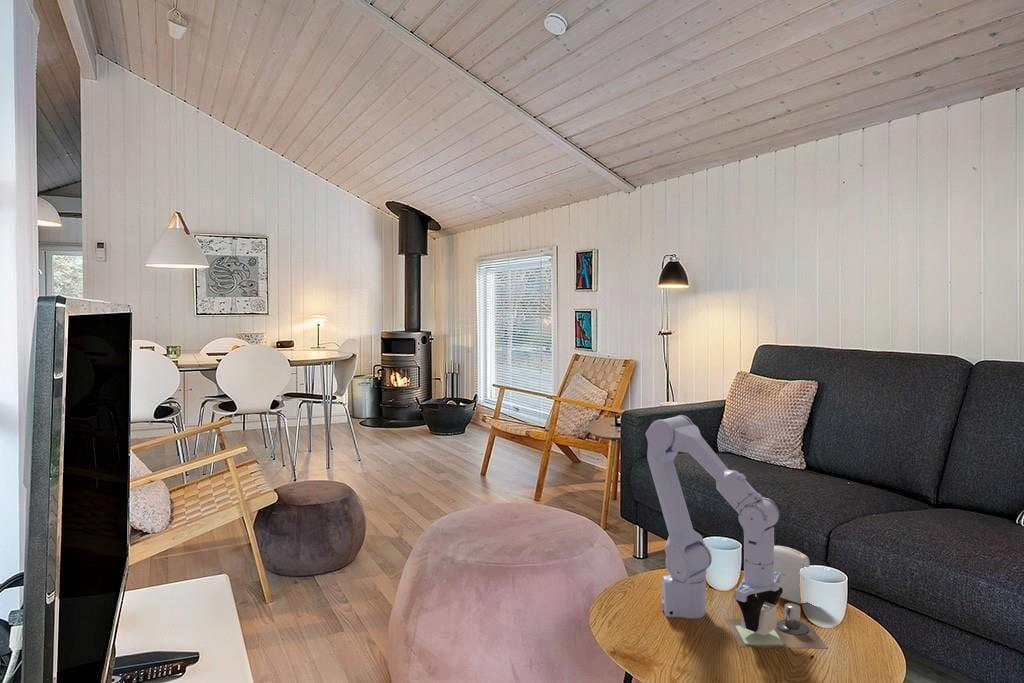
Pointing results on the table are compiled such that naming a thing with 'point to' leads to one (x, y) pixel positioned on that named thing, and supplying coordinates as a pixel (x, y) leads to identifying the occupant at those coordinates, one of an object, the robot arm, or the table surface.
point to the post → (792, 621)
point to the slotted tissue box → (765, 619)
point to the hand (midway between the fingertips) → (758, 625)
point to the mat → (759, 637)
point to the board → (783, 637)
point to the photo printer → (789, 571)
